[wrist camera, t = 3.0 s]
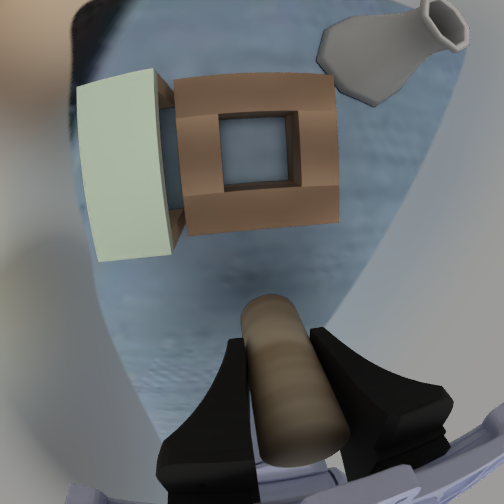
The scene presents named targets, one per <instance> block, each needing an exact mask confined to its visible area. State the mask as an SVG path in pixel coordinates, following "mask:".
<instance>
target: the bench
mask: <svg viewBox="0 0 504 504" xmlns="http://www.w3.org/2000/svg"><path fill="white" fill-rule="evenodd" d="M169 107H175V97H174V92H173V91H172V89H171V88H170V87H169V86H168V85H167V83H166V82H165V81H164V80H163V79H162V77H161V76H160V75H159V74H158V73H157V72H156V70H155V69H154V68H150V69H145V70H140V71H136V72H131V73H127V74H122V75H118V76H114V77H110V78H106V79H103V80H99V81H96V82H92V83H89V84H86V85H82V86H79V87H77V119H78V136H79V148H80V159H81V168H82V176H83V183H84V190H85V197H86V203H87V209H88V215H89V220H90V226H91V231H92V235H93V240H94V245H95V249H96V254H97V258H98V262H104V261H114V260H124V259H134V258H144V257H154V256H164V255H172V253H173V250H174V248H175V246H176V243H177V241H178V239H179V237H180V234H181V232H182V230H183V228H184V226H185V223H186V218H185V210H184V208H180V209H172V210H169V211H168V204H167V196H166V187H165V178H164V169H163V159H162V148H161V136H160V123H159V108H160V109H162V108H169Z"/></svg>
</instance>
